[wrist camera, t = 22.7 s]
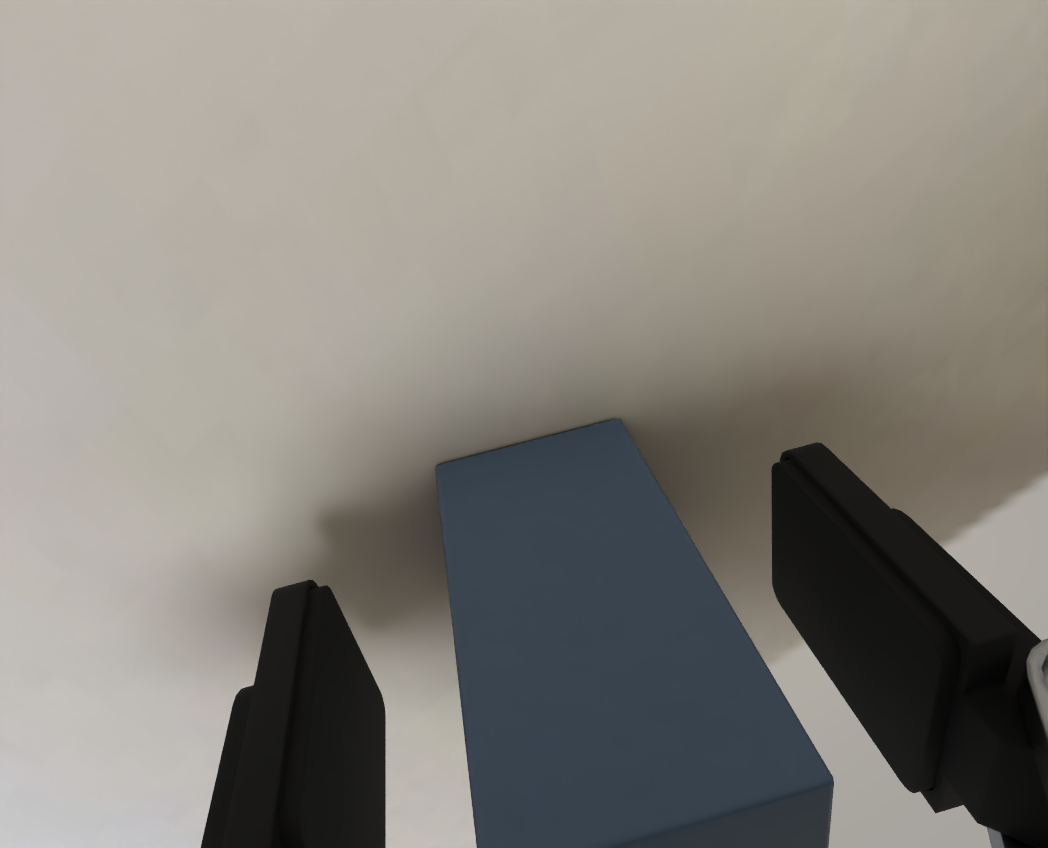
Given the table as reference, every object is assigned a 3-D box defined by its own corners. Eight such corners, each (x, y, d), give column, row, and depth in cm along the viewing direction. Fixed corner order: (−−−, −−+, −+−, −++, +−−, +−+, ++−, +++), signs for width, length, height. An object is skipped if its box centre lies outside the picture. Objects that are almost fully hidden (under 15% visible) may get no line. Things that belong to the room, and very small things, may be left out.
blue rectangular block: (620, 416, 11) (837, 780, 6) (639, 555, 13) (822, 941, 8) (433, 463, 11) (480, 885, 6) (477, 599, 13) (545, 1025, 7)
